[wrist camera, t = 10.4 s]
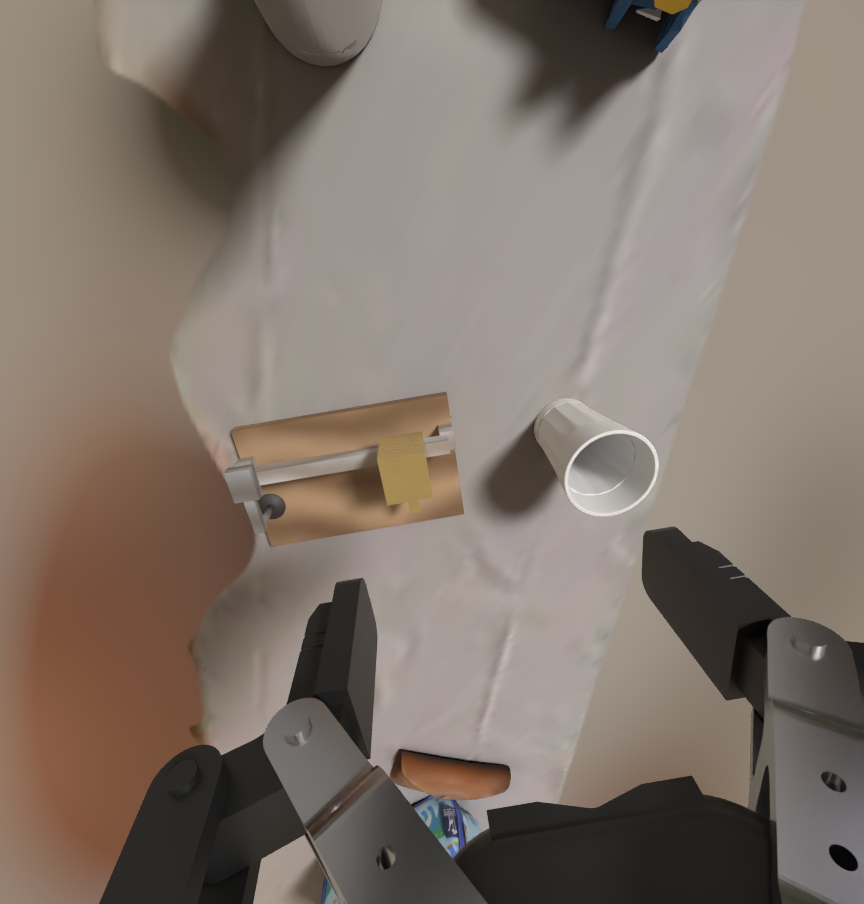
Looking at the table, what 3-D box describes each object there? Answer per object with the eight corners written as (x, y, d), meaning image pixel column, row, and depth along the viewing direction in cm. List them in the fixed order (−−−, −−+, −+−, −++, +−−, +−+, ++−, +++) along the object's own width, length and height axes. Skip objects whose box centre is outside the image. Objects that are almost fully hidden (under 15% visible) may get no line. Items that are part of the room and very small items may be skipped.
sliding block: (381, 425, 45) (377, 460, 37) (420, 418, 45) (424, 452, 37) (395, 492, 48) (394, 538, 40) (432, 486, 48) (438, 530, 40)
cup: (608, 440, 49) (669, 491, 38) (542, 472, 50) (582, 530, 39) (585, 377, 46) (643, 413, 35) (515, 412, 47) (550, 457, 36)
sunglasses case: (384, 782, 69) (389, 810, 63) (395, 734, 70) (402, 757, 64) (490, 796, 73) (506, 824, 66) (499, 750, 74) (515, 773, 67)
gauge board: (234, 427, 46) (210, 450, 40) (445, 391, 46) (452, 410, 40) (274, 540, 51) (258, 574, 45) (462, 508, 51) (470, 539, 45)
